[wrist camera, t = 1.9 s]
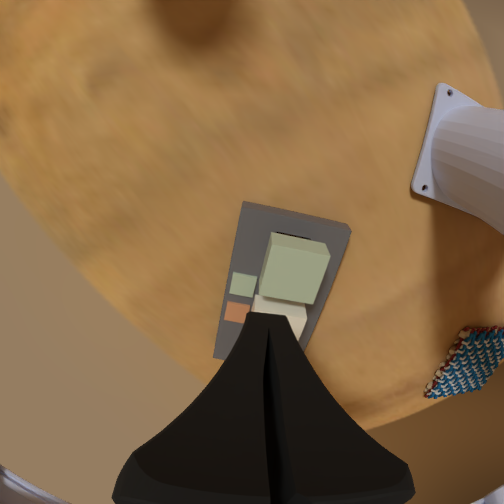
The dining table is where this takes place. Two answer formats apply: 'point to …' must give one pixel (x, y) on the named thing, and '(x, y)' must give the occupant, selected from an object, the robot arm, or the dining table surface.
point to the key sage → (293, 268)
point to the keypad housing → (252, 258)
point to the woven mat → (468, 362)
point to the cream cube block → (283, 311)
